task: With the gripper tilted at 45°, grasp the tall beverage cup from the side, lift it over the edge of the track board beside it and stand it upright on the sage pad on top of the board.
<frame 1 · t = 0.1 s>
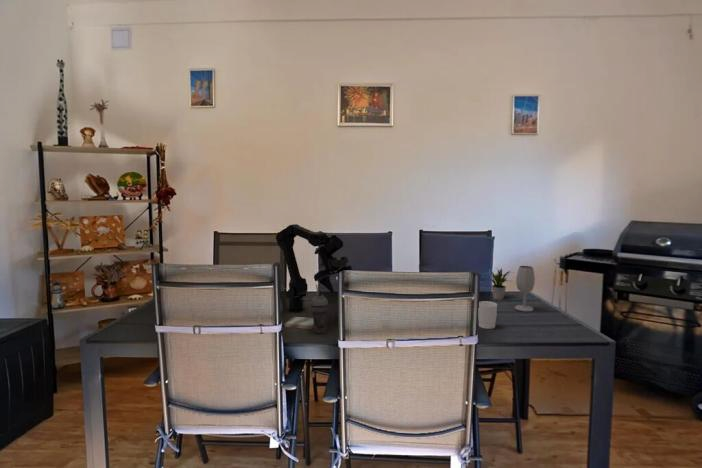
hand: (340, 290, 194), 15 cm above the table, tool tilted 35°, fingers open, 9 cm apart
wineglass: (524, 309, 214), on the table
track board: (302, 324, 195), on the table
beverage cup: (320, 331, 186), on the table
house plant: (500, 298, 234), on the table
white cup: (486, 326, 191), on the table
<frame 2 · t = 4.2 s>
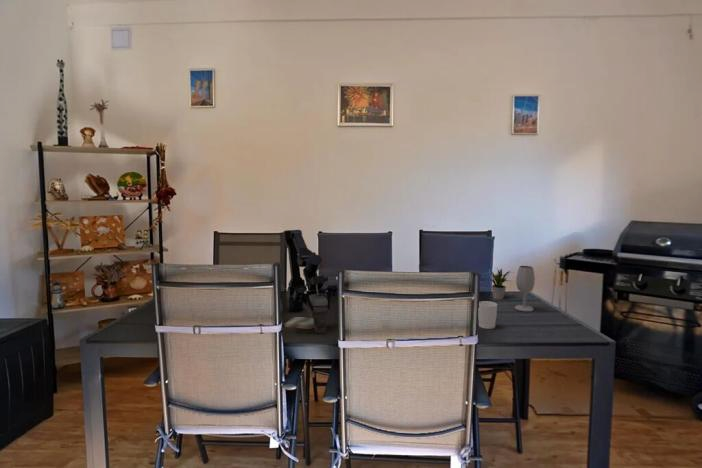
hand: (320, 309, 183), 10 cm above the table, tool tilted 45°, fingers closed on beverage cup, 7 cm apart
beverage cup: (320, 331, 186), on the table, touching gripper
everything else where it was.
when the fingers open (12 cm above the table, at t = 7.4 s): beverage cup drops 1 cm, resting on track board.
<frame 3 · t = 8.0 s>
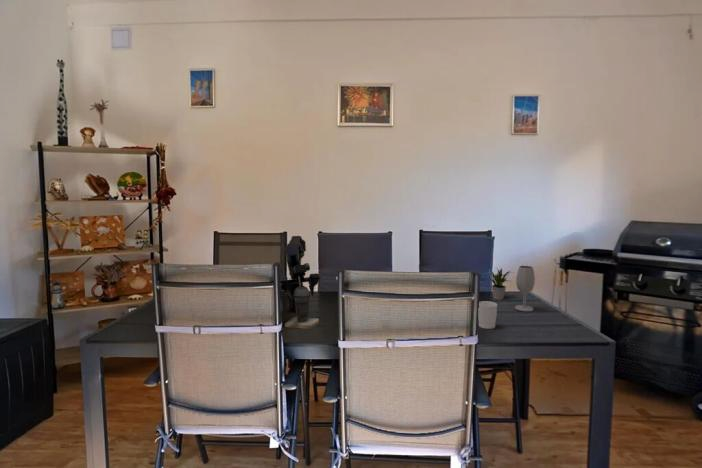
hand: (302, 297, 192), 13 cm above the table, tool tilted 45°, fingers open, 9 cm apart
beverage cup: (302, 321, 195), point 1 cm above the table, touching track board
everything else where it was.
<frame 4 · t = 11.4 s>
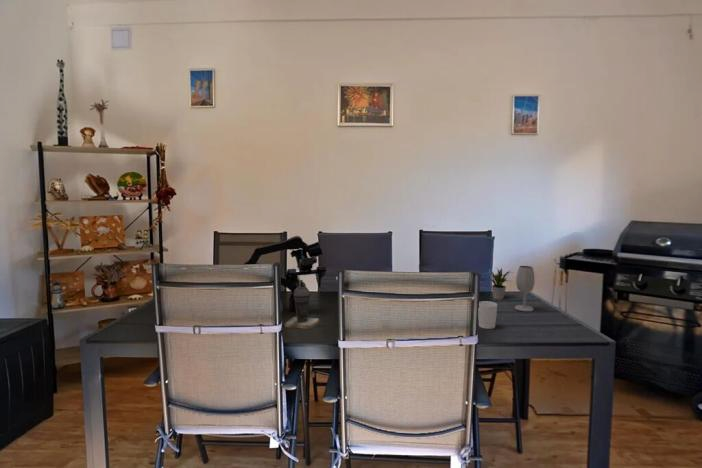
hand: (310, 288, 204), 14 cm above the table, tool tilted 45°, fingers open, 9 cm apart
nothing on the table moved.
at the end: beverage cup inside the target area (0.1 cm from its centre), point 1.4 cm above the table; beverage cup tilted 0°; the gripper is holding nothing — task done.
